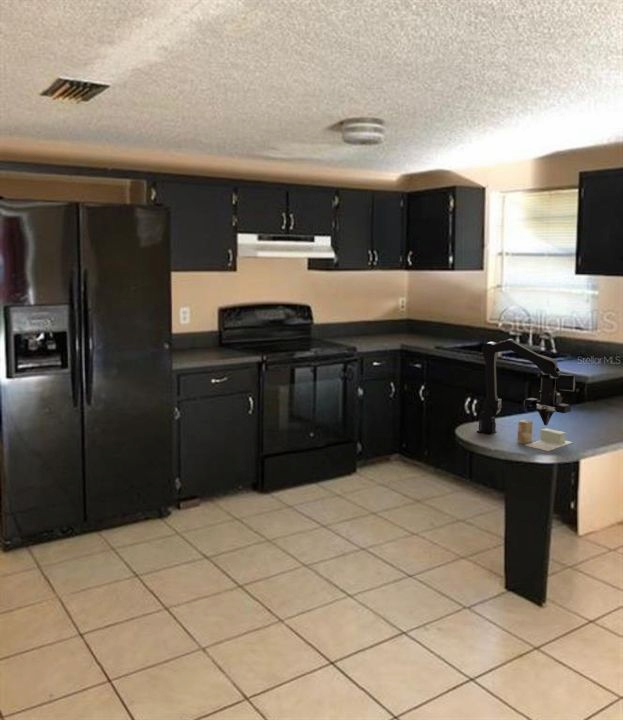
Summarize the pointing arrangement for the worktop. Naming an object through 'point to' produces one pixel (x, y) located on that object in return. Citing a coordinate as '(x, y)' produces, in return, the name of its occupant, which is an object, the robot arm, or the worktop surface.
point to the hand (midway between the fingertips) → (545, 425)
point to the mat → (547, 445)
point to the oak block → (524, 431)
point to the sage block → (552, 435)
